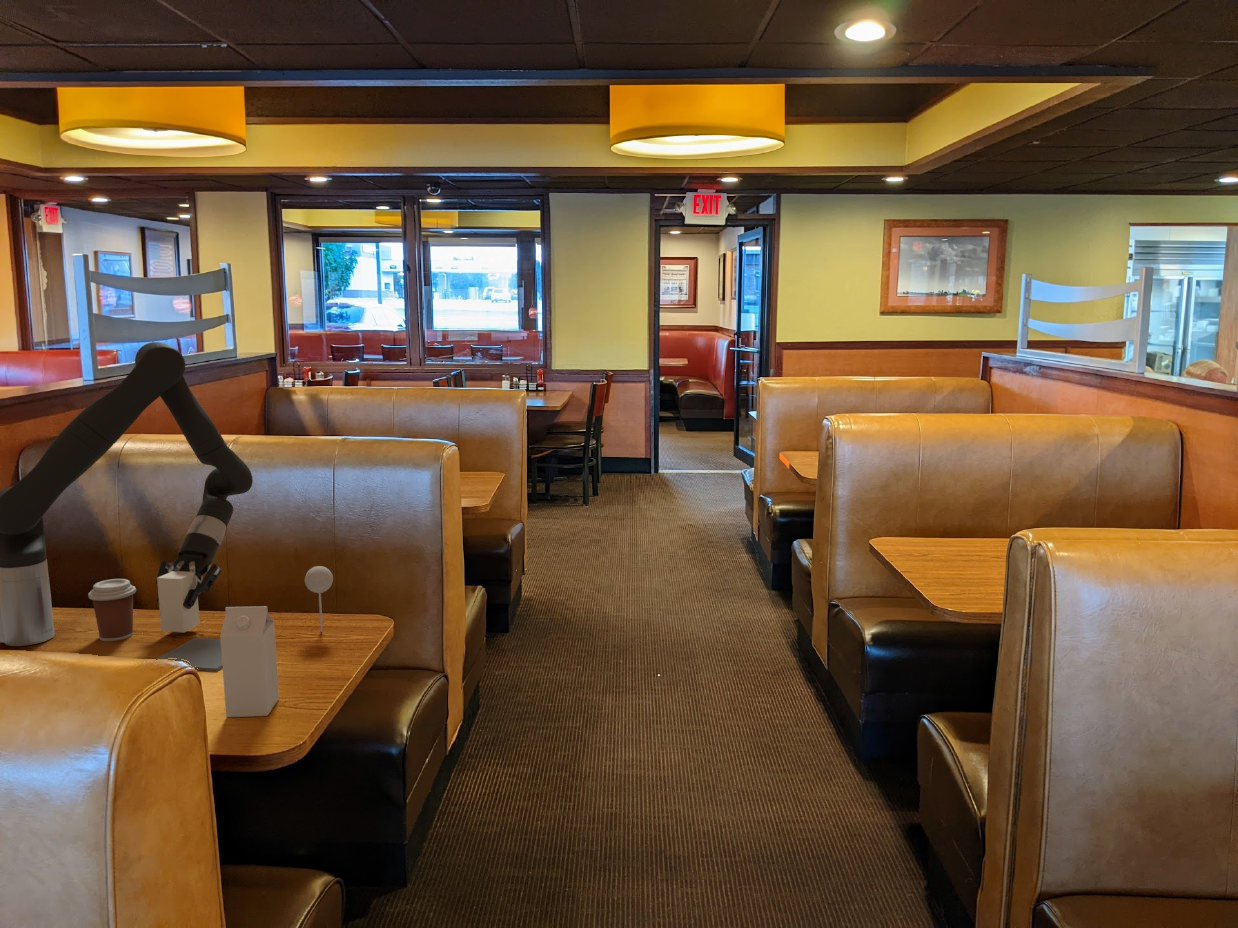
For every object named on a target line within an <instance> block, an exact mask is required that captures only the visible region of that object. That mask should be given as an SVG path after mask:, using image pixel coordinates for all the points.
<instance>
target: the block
mask: <svg viewBox="0 0 1238 928" xmlns="http://www.w3.org/2000/svg"><path fill="white" fill-rule="evenodd" d="M194 574H195V573H191V572H184V571H178V572H174V571H173V570H172V572H170V573H167V574H165V575H163V576H160V577H158V578H157V577H156V580H157V583H158V585H157V593H158V596H159V605H158V606H159V607H158V608H159V619H160V630H161V631H160V632H168V633H169V632H170V633H171V632H172V633H183V634H184V633H187V632H188V631H190V630H192V629H194V628H195V627H198V626H199V625H200V624H201V623H200V611H199V596H198V597H197V599H196V601H195V604H194V605H193V607H191V609H186V608H185V607H184V606H183V603H184V601H185V598H186V596H187V594H188V592H189V590H191V584H192V582H193V576H194Z"/></svg>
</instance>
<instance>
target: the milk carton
mask: <svg viewBox="0 0 1238 928" xmlns="http://www.w3.org/2000/svg"><path fill="white" fill-rule="evenodd" d="M224 615H225V616H224V619H223V622H222V623H223V624H222V628H221V630H220V631H221V632H220V635H219V637H220V639H221V653H222V666H223V668H222V680H223V692H224V702H225V703H224V704H225V706H224V707H225V716H226V718H238V717H239V718H241V717H247V718H248V717H267V716H268V715H269V714H270V713H271V711H272V710H273V708H274V707H275V706H276V704H277V703H278V701H279V700H280V693H279V681H278V680H279V676H278V660H277V646H276V644H277V643H276V629H275V621H274V619H273V618H272V616H271V615H270V613H269V612H268V606H266V605H264V606H261V605H260V606H226V607H225V614H224Z"/></svg>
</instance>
